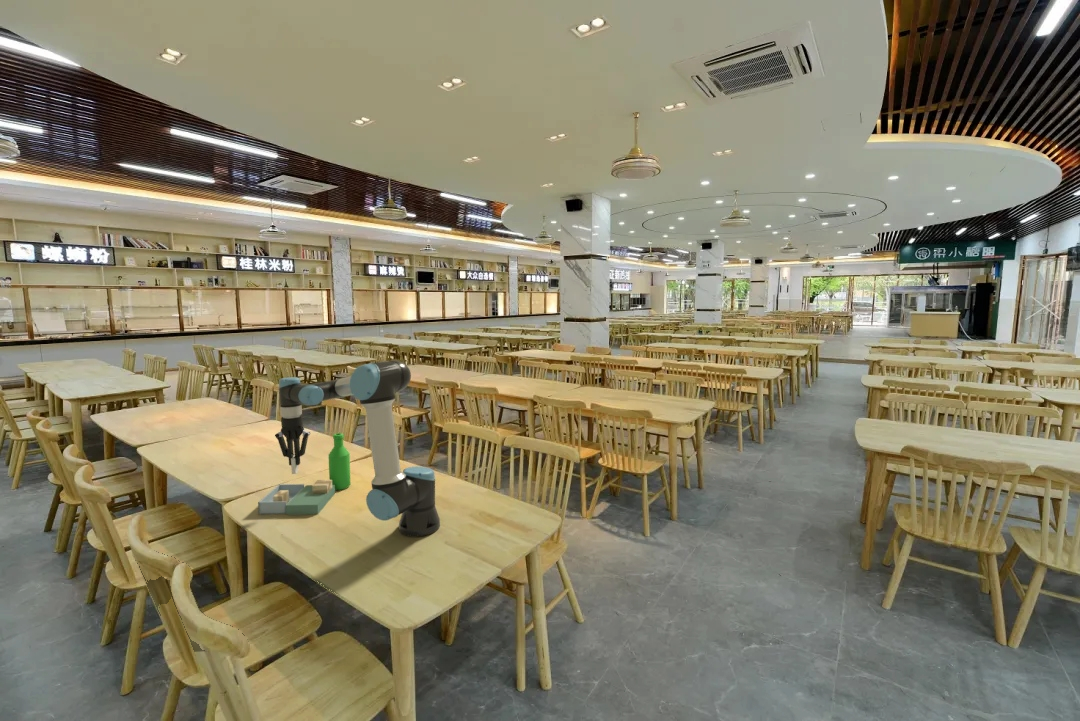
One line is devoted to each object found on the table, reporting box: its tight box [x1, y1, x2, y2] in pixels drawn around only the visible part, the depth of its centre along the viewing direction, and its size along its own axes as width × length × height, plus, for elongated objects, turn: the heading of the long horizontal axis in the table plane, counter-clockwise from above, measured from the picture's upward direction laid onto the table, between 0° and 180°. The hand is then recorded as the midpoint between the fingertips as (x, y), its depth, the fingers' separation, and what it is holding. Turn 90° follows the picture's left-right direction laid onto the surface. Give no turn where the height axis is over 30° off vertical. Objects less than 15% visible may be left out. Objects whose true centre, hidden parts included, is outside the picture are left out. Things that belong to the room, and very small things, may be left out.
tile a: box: [273, 490, 289, 504], centre depth 189 cm, size 6×6×4 cm
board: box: [286, 484, 336, 516], centre depth 194 cm, size 20×12×4 cm, turn 6°
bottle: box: [328, 432, 351, 491], centre depth 210 cm, size 9×9×25 cm
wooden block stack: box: [311, 479, 332, 493], centre depth 197 cm, size 6×6×4 cm
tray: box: [257, 483, 305, 515], centre depth 192 cm, size 18×10×5 cm, turn 6°
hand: (295, 472), depth 187 cm, fingers closed
